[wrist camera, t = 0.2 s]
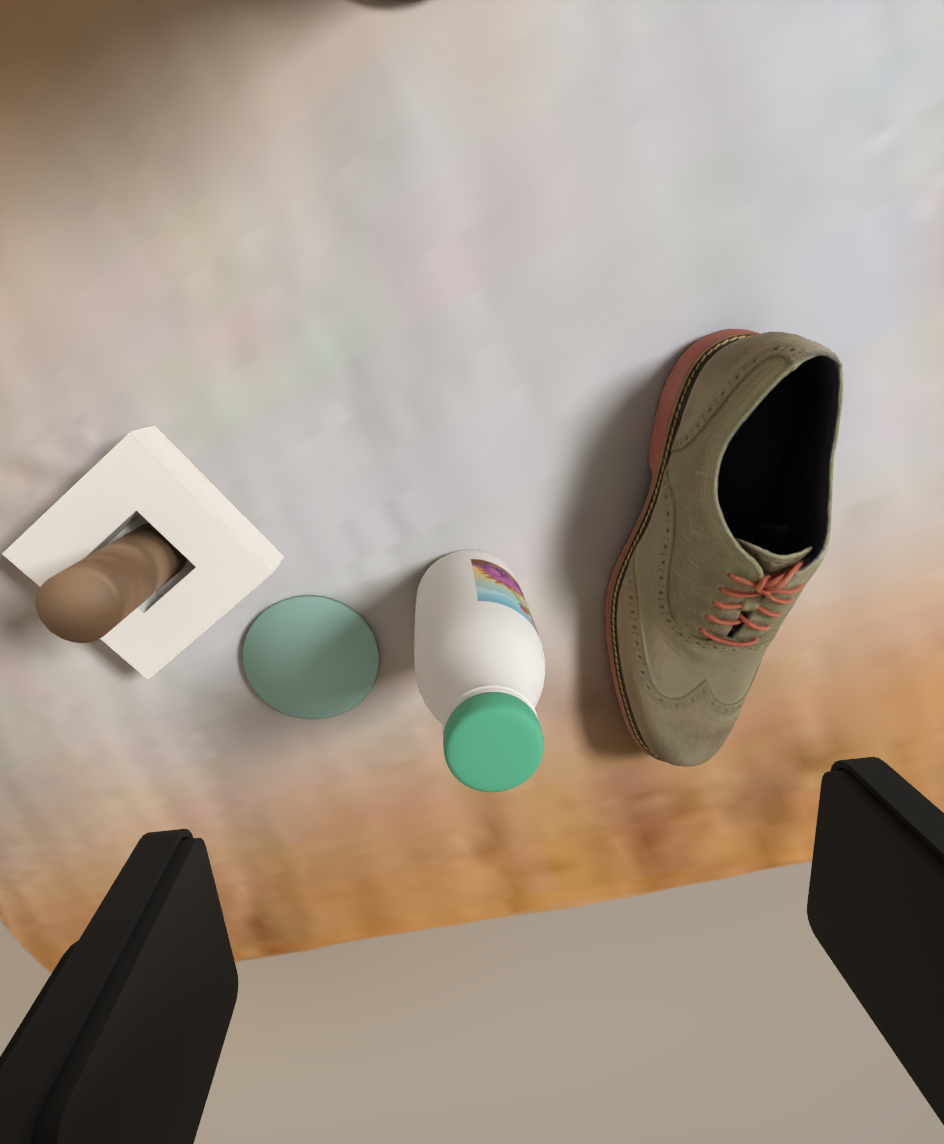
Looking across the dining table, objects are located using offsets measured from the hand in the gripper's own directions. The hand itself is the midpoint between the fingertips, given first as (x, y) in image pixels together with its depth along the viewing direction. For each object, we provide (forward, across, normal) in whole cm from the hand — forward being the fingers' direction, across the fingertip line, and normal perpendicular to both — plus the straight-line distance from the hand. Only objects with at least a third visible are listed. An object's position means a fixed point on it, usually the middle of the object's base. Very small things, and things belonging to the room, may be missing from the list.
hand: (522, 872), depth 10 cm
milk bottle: (+37, -1, +9) cm, 38 cm away
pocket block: (+37, +20, +4) cm, 42 cm away
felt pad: (+37, +11, +13) cm, 41 cm away
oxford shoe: (+37, -17, +8) cm, 42 cm away
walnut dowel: (+36, +20, +4) cm, 42 cm away
